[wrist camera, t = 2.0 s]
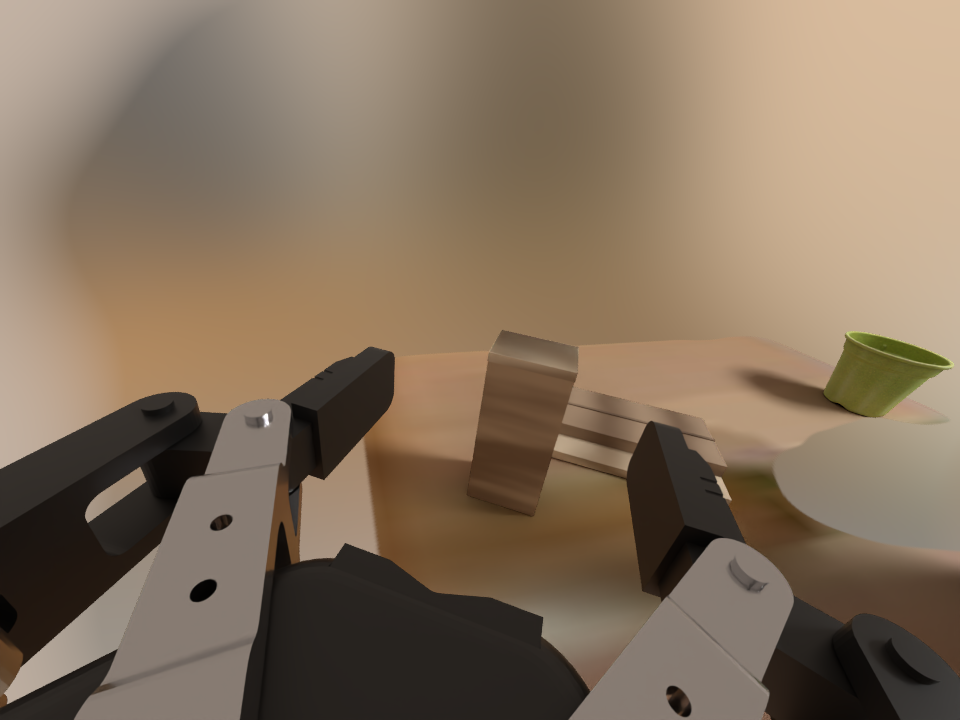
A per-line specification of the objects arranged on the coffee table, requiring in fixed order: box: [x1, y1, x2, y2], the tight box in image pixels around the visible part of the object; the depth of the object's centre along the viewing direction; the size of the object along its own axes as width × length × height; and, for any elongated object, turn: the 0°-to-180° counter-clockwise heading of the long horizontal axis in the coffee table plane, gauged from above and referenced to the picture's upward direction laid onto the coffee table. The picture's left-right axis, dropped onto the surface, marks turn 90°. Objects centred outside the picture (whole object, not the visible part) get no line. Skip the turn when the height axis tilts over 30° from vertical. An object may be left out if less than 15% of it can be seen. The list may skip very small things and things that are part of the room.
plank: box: [467, 330, 579, 516], centre depth 24 cm, size 4×5×12 cm
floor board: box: [552, 387, 731, 505], centre depth 33 cm, size 18×10×2 cm, turn 75°
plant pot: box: [824, 331, 954, 418], centre depth 44 cm, size 9×9×9 cm
